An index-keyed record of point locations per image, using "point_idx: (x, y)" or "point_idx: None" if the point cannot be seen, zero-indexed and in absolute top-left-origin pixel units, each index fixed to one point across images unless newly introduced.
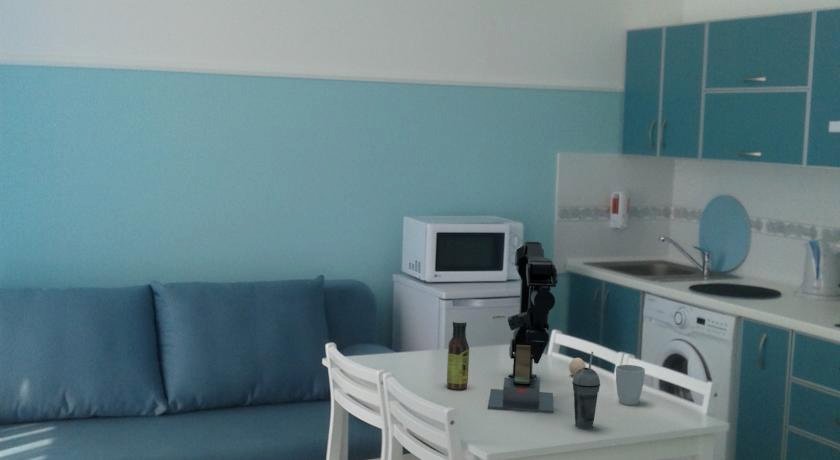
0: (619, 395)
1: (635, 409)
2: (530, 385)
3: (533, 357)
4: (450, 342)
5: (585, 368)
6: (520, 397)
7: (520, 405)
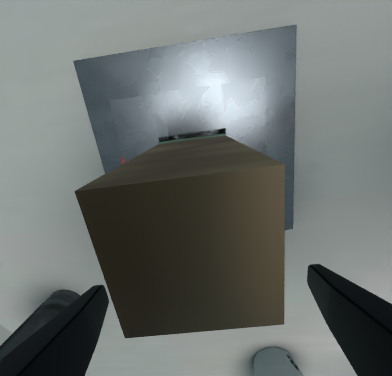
0: (264, 366)
1: (226, 369)
2: None
3: (55, 317)
4: None
5: None
6: None
7: None
